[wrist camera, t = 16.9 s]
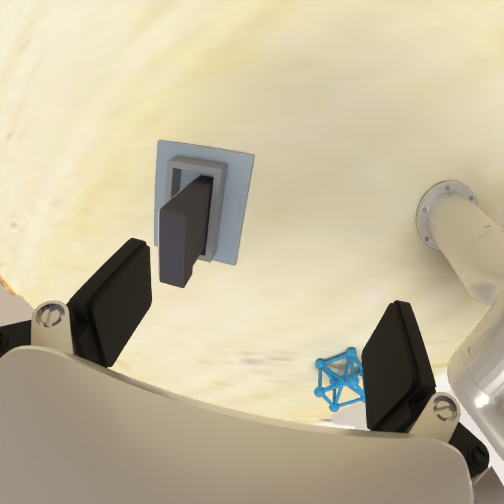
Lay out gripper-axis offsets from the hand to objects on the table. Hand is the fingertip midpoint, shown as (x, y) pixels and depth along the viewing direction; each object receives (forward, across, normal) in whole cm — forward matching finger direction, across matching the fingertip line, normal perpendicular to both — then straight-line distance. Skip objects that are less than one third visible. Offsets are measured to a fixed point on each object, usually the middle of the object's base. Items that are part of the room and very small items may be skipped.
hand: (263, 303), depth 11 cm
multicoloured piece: (+36, +12, +13) cm, 40 cm away
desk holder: (+36, +14, +13) cm, 41 cm away
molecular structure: (+37, -22, +44) cm, 61 cm away
